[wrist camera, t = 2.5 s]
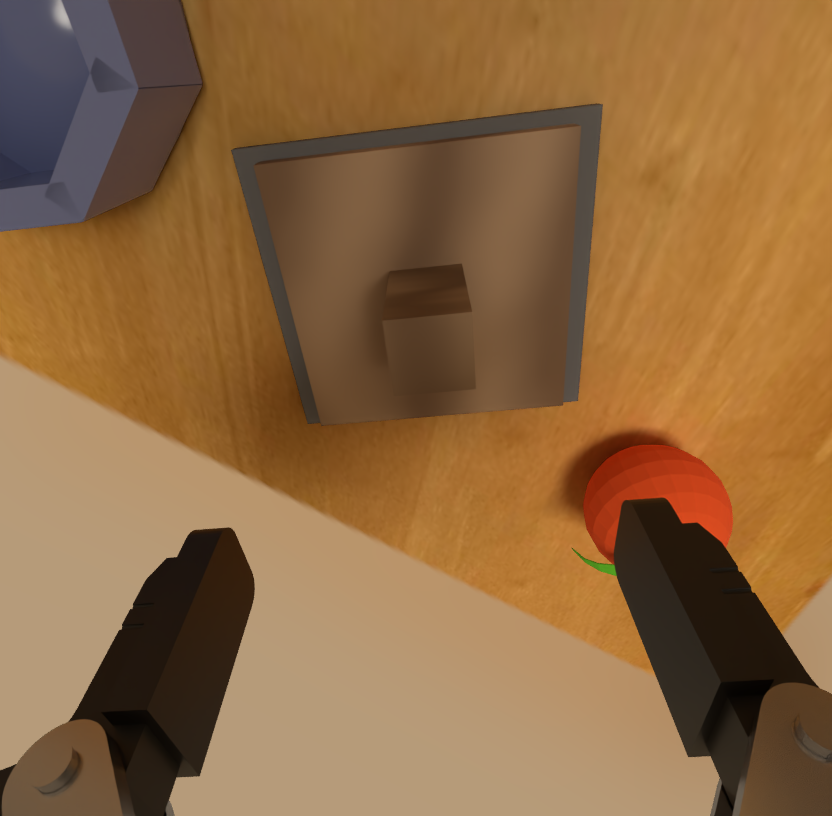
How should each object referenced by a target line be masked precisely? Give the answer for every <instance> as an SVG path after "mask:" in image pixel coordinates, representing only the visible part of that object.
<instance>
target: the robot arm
mask: <svg viewBox="0 0 832 816" xmlns="http://www.w3.org/2000/svg"><path fill="white" fill-rule="evenodd" d="M614 565H615V571H616V575H617V579H618V582H619V584H620V587H621V589H622V592H623V594H624V597H625V599H626V602H627V604H628V607H629V609H630V612H631V614H632V617H633V619H634V622H635V624H636V627H637V629H638V632H639V635H640V637H641V640H642V642H643V645H644V647H645V650H646V652H647V655H648V657H649V660H650V662H651V665H652V667H653V670H654V672H655V675H656V677H657V680H658V682H659V685H660V687H661V689H662V692H663V694H664V697H665V700H666V702H667V705H668V707H669V710H670V712H671V715H672V717H673V720H674V722H675V725H676V727H677V730H678V732H679V735H680V737H681V740H682V742H683V745H684V747H685V750H686V752H687V755H688V757H700V756H711V758H712V760H713V763H714V765H715V767H716V770H717V772H718V774H719V777H720V779H719V782H718V785H717V789H716V793H715V797H714V802H713V806H712V810H711V814H710V816H832V694H831V693H829V692H827V691H825V690H822V689H820V688H819V687H818V686H817V685H816V684H815V682H814V681H813V680H812V679H811V677H810V676H809V675H808V673H807V672H806V671H805V669H804V668H803V666H802V664H801V663H800V661H799V660H798V658H797V657H796V655H795V654H794V652H793V651H792V649H791V648H790V646H789V645H788V643H787V642H786V640H785V639H784V637H783V635H782V634H781V632H780V631H779V629H778V628H777V626H776V625H775V623H774V622H773V620H772V618H771V617H770V615H769V614H768V612H767V611H766V609H765V608H764V606H763V605H762V603H761V602H760V600H759V599H758V597H757V595H756V594H755V593H753V592H752V591H751V586H750V585H749V583H748V582H747V580H746V579H745V577H744V576H743V574H742V572H739V571H738V566H737V565H736V563H735V562H734V560H733V559H732V557H731V556H730V554H729V553H728V551H727V549H726V548H725V546H724V545H723V543H722V542H721V541H720V540H718V539H717V538H716V537H715V536H713V535H712V534H711V533H710V532H708V531H707V530H706V529H705V528H704V527H702V526H701V525H700V524H699V523H697V522H696V523H682V522H681V520H680V519H679V517H678V515H677V514H676V512H675V510H674V509H673V507H672V505H671V504H670V502H669V501H668V500H667V499H666V498H663V497H661V498H647V499H633V500H625V501H623V503H622V506H621V511H620V517H619V523H618V529H617V535H616V541H615V547H614ZM254 590H255V588H254V578H253V574H252V571H251V569H250V566H249V564H248V562H247V560H246V557H245V555H244V552H243V550H242V548H241V546H240V543H239V541H238V539H237V536H236V534H235V532H234V531H233V530H232V529H231V528H217V529H203V530H194V531H192V532H191V533H190V534H189V535H188V536H187V538H186V540H185V542H184V544H183V546H182V548H181V550H180V552H179V554H178V556H177V557H174V558H166V560H165V561H164V562H163V563H162V564H161V565H160V566H159V567H158V568H157V569H156V570H155V571H154V572H153V573H152V574H151V575H150V576H149V577H148V578H147V579H146V581H145V583H144V584H143V586H142V588H141V590H140V592H139V594H138V596H137V598H136V599H135V601H134V603H133V609H130V611H129V613H128V614H127V616H126V618H125V620H124V622H123V624H122V630H119V631H118V633H117V635H116V637H115V639H114V641H113V642H112V645H111V646H110V648H109V650H108V652H107V654H106V656H105V658H104V659H103V661H102V663H101V665H100V667H99V669H98V671H97V673H96V674H95V676H94V678H93V680H92V682H91V684H90V686H89V687H88V690H87V691H86V693H85V695H84V697H83V699H82V701H81V702H80V704H79V706H78V708H77V710H76V711H75V713H74V715H73V716H72V718H71V719H70V720H69V722H67V723H65V724H62V725H60V726H58V727H56V728H55V729H53V730H51V731H50V732H48V733H47V734H45V735H44V736H43V737H41V738H40V739H39V740H38V741H37V742H35V743H34V744H33V745H32V746H31V747H30V748H29V749H28V750H27V751H26V752H25V754H24V755H23V756H22V757H21V758H20V760H19V761H18V763H17V764H15V765H13V766H11V767H8V768H6V769H3V770H0V816H174V812H173V808H172V805H171V803H170V801H169V797H170V795H171V792H172V789H173V786H174V783H175V780H176V777H193V776H200V773H201V770H202V767H203V763H204V760H205V757H206V754H207V750H208V747H209V744H210V740H211V737H212V734H213V731H214V728H215V724H216V721H217V718H218V715H219V711H220V708H221V705H222V701H223V698H224V695H225V692H226V688H227V685H228V682H229V679H230V676H231V672H232V669H233V666H234V662H235V659H236V656H237V653H238V650H239V646H240V643H241V640H242V637H243V633H244V630H245V627H246V624H247V620H248V617H249V614H250V610H251V607H252V604H253V600H254Z"/></svg>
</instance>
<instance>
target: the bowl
mask: <svg viewBox="0 0 832 816" xmlns="http://www.w3.org/2000/svg"><path fill="white" fill-rule="evenodd" d="M202 84H203V83H202V80H201V76H200V73H199V69H198V66H197V62H196V59H195V55H194V52H193V49H192V45H191V42H190V38H189V32H188V27H187V23H186V19H185V14H184V10H183V6H182V3H181V0H0V232H1V231H10V230H19V229H27V228H36V227H45V226H53V225H62V224H71V223H79V222H84V221H86V220H88V219H90V218H93V217H95V216H97V215H99V214H101V213H104V212H106V211H108V210H110V209H113V208H115V207H117V206H119V205H121V204H124V203H126V202H128V201H130V200H133V199H135V198H137V197H139V196H141V195H144V194H146V193H148V192H150V191H152V190H153V188H154V186H155V184H156V181H157V179H158V177H159V175H160V173H161V171H162V169H163V167H164V165H165V163H166V160H167V158H168V156H169V154H170V152H171V150H172V148H173V146H174V145H175V143H176V141H177V139H178V138H179V135H180V133H181V130H182V128H183V125H184V123H185V121H186V119H187V116H188V114H189V112H190V110H191V108H192V106H193V104H194V102H195V100H196V98H197V96H198V93H199V91H200V89H201V87H202Z"/></svg>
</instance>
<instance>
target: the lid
mask: <svg viewBox="0 0 832 816" xmlns="http://www.w3.org/2000/svg"><path fill="white" fill-rule="evenodd" d="M580 135H581V126H580V125H577V124H574V123H573V124H565V125H556V126H548V127H540V128H532V129H523V130H515V131H507V132H499V133H490V134H482V135H474V136H465V137H457V138H449V139H441V140H432V141H424V142H416V143H407V144H399V145H391V146H383V147H374V148H366V149H358V150H350V151H341V152H333V153H325V154H316V155H308V156H300V157H292V158H283V159H275V160H267V161H260V162H258V163H256V164H255V165H253V166H254V170H255V174H256V178H257V182H258V186H259V189H260V193H261V197H262V201H263V205H264V208H265V212H266V216H267V220H268V224H269V227H270V231H271V235H272V239H273V243H274V247H275V250H276V254H277V258H278V262H279V266H280V269H281V273H282V277H283V281H284V285H285V289H286V292H287V296H288V300H289V304H290V308H291V311H292V315H293V319H294V323H295V327H296V331H297V334H298V338H299V342H300V346H301V350H302V353H303V357H304V361H305V365H306V369H307V373H308V376H309V380H310V384H311V388H312V392H313V395H314V399H315V403H316V407H317V411H318V414H319V418H320V422H321V426H324V425H336V424H348V423H360V422H371V421H383V420H395V419H407V418H419V417H431V416H443V415H454V414H466V413H478V412H490V411H502V410H514V409H526V408H537V407H549V406H561V405H563V399H564V383H565V368H566V352H567V337H568V321H569V306H570V290H571V275H572V259H573V244H574V228H575V213H576V197H577V182H578V166H579V151H580Z"/></svg>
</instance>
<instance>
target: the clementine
mask: <svg viewBox="0 0 832 816" xmlns="http://www.w3.org/2000/svg"><path fill="white" fill-rule="evenodd" d="M661 497H663V498H666V499H667V500H668V501H669V502H670V504H671V505H672V507H673V509H674V510H675V512H676V514H677V515H678V517H679V519H680V520H681V522H682V523H696V522H697V523H699V524H700V525H701V526H702V527H704V528H705V529H706V530H707V531H708V532H710V533H711V534H712V535H713V536H715V537H716V538H717V539H718V540H720V541H721V542H722V543H723V545H724V546H725V548H726V546H727V544H728V541H729V538H730V535H731V533H732V525H733V516H732V506H731V503H730V500H729V497H728V494H727V492H726V490H725V488H724V486H723V484H722V482H721V480H720V479H719V478H718V477H717V476H716V475H715V473H714V472H713V471H712V470H711V469H710V468H709V467H708V466H707V465H706V464H705V463H704V462H703V461H702V460H700V459H698V458H696V457H694V456H692V455H691V454H689V453H687V452H684V451H682V450H680V449H678V448H674V447H670V446H665V445H638V446H633V447H629V448H626V449H624V450H621V451H619V452H617V453H615V454H614V455H612V456H610V457H609V458H607V459H606V460H605V461H604V462H603V463H602V464H601V465H600V466H599V467H598V469H597V470H596V471H595V472H594V474H593V475H592V477H591V479H590V480H589V482H588V485H587V489H586V493H585V498H584V503H583V509H584V516H585V522H586V528H587V531H588V532H589V534H590V536H591V538H592V539H593V541H594V543H595V545H596V546H597V548H598V550H599V552H600V553H601V554H602V555H604V556H605V557H606V558H607V559H608V560H609V561H610V562H611V563H612V564H602V563H596V562H594V561H591V560H588V559H585V558H584V557H582V556H581V555H580V554H579V553H578V552H576V551H575V550H574V549H573V548H572V549H573V551H574V552H575V553H576V554H577V555H578V556H579V557H580V558H581V559H582V560H583V561H584V562H585V563H587V564H589V565H590V566H592V567H594V568H596V569H597V570H599V571H601V572H605V573H608V574H611V575H615V576H617V575H616V571H615V565H614V547H615V541H616V535H617V529H618V523H619V517H620V511H621V506H622V503H623V501H625V500H633V499H647V498H661Z"/></svg>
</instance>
